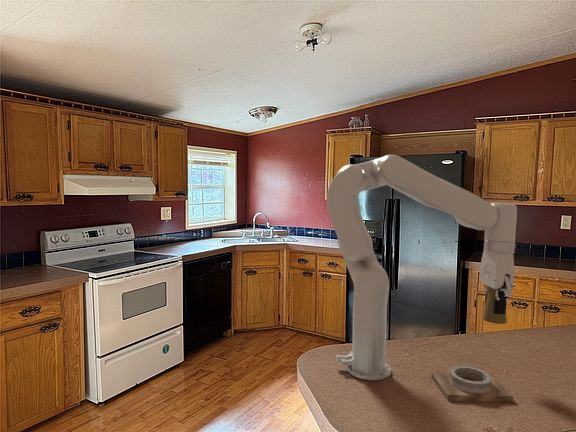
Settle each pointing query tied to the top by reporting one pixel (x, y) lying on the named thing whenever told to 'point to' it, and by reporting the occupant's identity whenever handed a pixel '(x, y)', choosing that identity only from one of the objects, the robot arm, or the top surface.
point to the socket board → (469, 396)
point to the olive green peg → (489, 306)
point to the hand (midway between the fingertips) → (494, 310)
